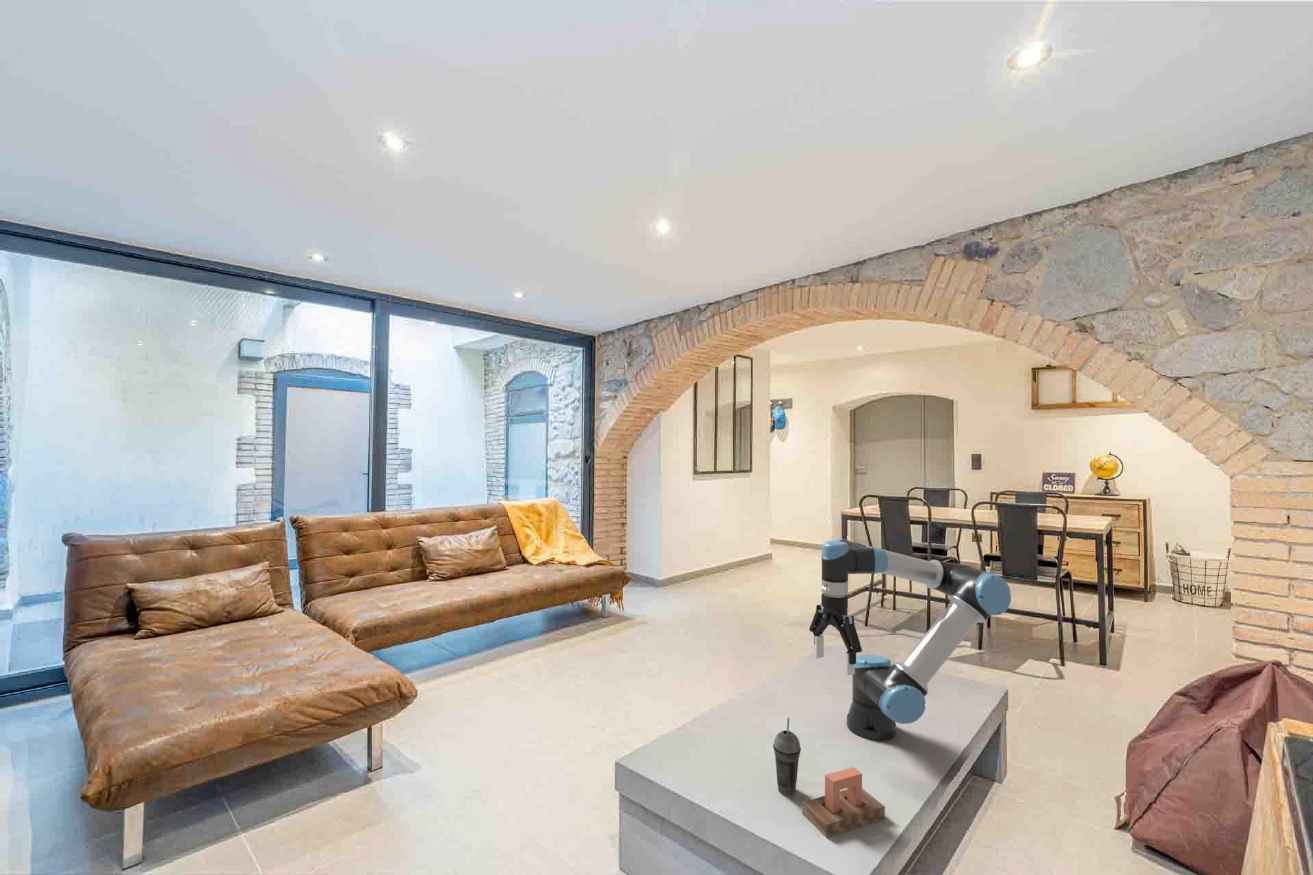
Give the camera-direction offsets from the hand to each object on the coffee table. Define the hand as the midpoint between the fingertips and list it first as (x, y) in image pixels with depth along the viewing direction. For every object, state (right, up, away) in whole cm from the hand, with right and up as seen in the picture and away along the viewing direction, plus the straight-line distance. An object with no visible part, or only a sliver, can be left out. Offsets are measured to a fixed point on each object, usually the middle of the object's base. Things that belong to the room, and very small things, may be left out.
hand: (834, 665), depth 168 cm
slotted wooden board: (-6, -27, -27) cm, 39 cm away
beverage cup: (-18, -27, -17) cm, 36 cm away
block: (-6, -27, -27) cm, 39 cm away
